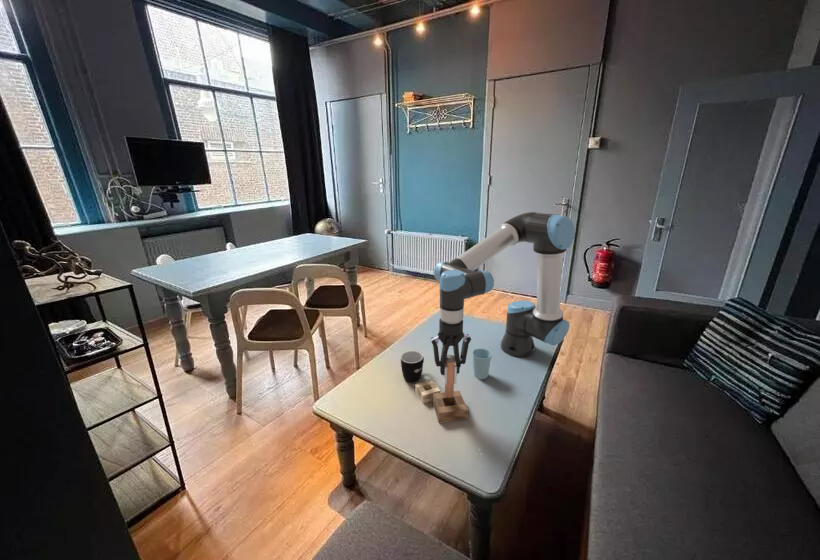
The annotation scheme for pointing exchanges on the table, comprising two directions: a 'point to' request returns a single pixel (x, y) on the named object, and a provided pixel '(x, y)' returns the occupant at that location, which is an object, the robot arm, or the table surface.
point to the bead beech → (426, 391)
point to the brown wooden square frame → (450, 407)
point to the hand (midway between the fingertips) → (449, 381)
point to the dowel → (450, 376)
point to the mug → (412, 366)
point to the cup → (481, 362)
